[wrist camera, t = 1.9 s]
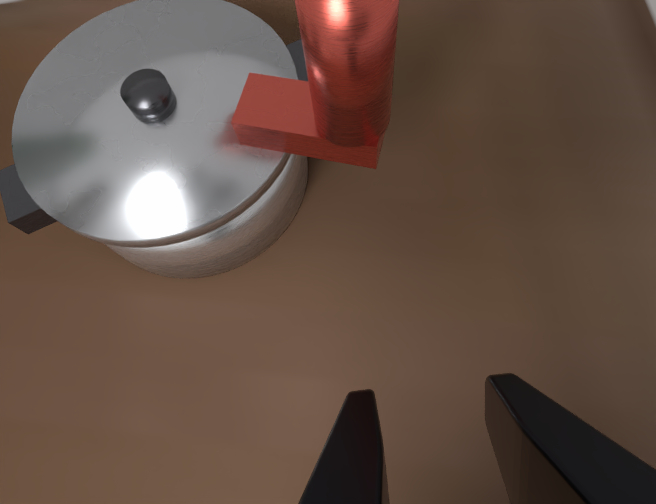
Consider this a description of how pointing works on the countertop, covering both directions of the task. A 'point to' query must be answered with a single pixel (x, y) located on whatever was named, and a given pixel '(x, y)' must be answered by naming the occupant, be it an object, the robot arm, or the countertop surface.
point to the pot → (204, 251)
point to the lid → (197, 112)
